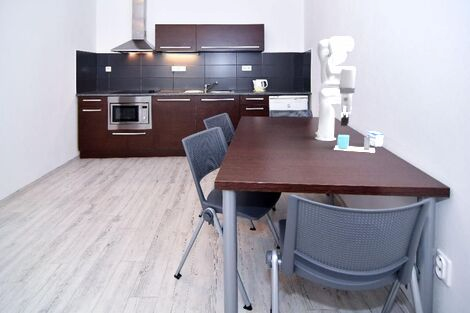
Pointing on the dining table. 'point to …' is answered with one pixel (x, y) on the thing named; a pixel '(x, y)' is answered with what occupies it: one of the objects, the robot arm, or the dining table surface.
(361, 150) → the base board
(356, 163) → the dining table surface
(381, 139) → the medicine box
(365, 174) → the dining table surface
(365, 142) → the post
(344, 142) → the pale aqua block
